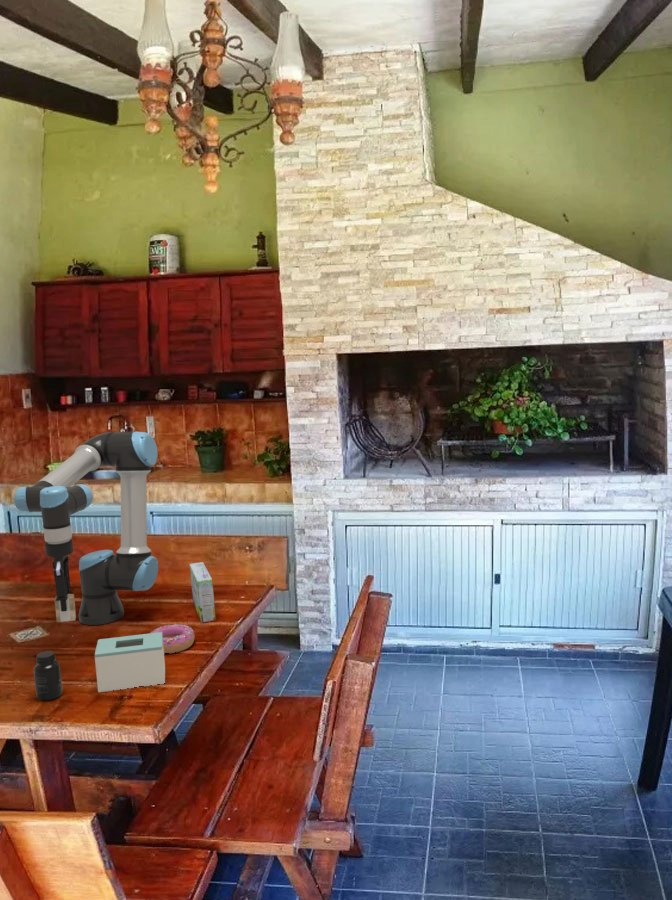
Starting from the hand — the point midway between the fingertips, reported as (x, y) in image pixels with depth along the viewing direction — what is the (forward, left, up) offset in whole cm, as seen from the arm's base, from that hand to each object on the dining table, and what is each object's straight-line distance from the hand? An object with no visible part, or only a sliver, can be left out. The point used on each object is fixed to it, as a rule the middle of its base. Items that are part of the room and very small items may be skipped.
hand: (66, 618), depth 227 cm
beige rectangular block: (0, 0, 0) cm, 0 cm away
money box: (+12, +18, -16) cm, 27 cm away
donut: (-10, +29, -17) cm, 35 cm away
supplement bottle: (+15, -4, -16) cm, 23 cm away
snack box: (-37, +40, -17) cm, 57 cm away
